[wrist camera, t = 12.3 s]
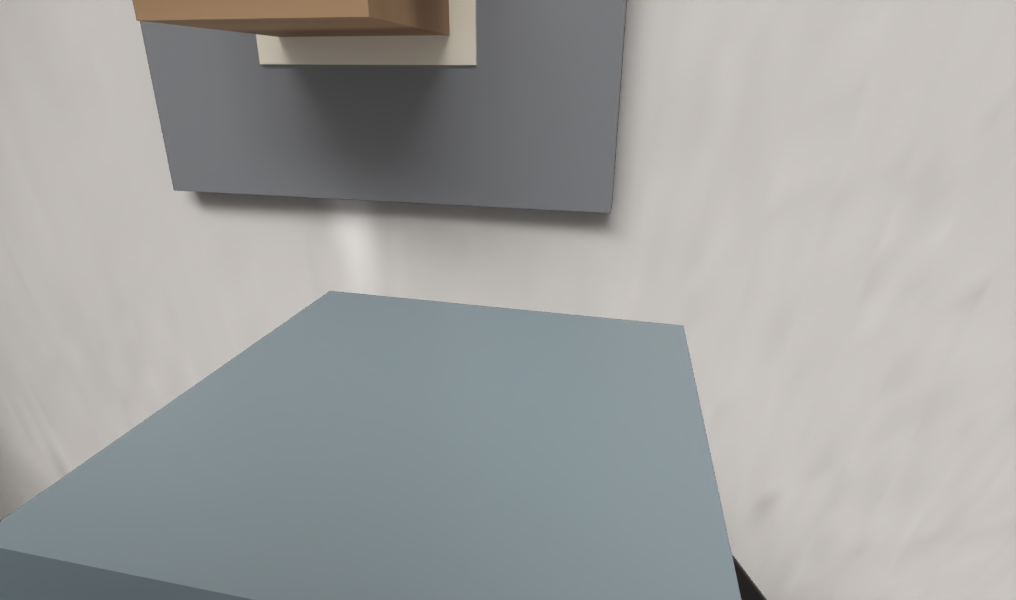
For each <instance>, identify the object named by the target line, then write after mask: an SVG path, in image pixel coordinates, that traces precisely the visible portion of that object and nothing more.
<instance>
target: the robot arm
mask: <svg viewBox="0 0 1016 600" xmlns="http://www.w3.org/2000/svg"><path fill="white" fill-rule="evenodd" d="M732 557H733V562H734V567H735V572H736V576H737V581H738V586H739V590H740V595H741V600H766V598H765V597H764V596H763V594H762V593H761V592H760V590H759V589H758V588H757V586H756V585H755V584H754V583H753V581H752V580H751V579H750V577H749V576H748V575H747V573H746V572H745V571H744V569H743V568H742V567H741V565H740V564H739V563H738V561H737V560H736V559H735V557H734V556H733V555H732Z"/></svg>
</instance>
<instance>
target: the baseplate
mask: <svg viewBox="0 0 1016 600" xmlns="http://www.w3.org/2000/svg"><path fill="white" fill-rule="evenodd" d="M626 6H627V0H449V26H450V35H421V36H316V37H275V36H267V35H258V34H249V33H241V32H232V31H223V30H215V29H206V28H197V27H189V26H180V25H172V24H163V23H154V22H146V21H140V24H141V29H142V34H143V39H144V44H145V49H146V54H147V59H148V64H149V69H150V74H151V79H152V84H153V89H154V94H155V99H156V104H157V109H158V114H159V119H160V124H161V129H162V134H163V138H164V143H165V148H166V153H167V158H168V163H169V168H170V173H171V178H172V183H173V188H174V190H177V191H196V192H215V193H235V194H254V195H273V196H293V197H312V198H331V199H350V200H370V201H389V202H408V203H428V204H447V205H466V206H486V207H505V208H524V209H543V210H563V211H582V212H601V213H611V209H612V198H613V184H614V171H615V157H616V143H617V130H618V116H619V102H620V89H621V75H622V61H623V48H624V34H625V20H626Z"/></svg>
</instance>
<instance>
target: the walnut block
mask: <svg viewBox="0 0 1016 600" xmlns="http://www.w3.org/2000/svg"><path fill="white" fill-rule="evenodd" d="M133 5H134V10H135V15H136V20H137V21H146V22H154V23H163V24H172V25H180V26H189V27H197V28H206V29H215V30H223V31H232V32H241V33H249V34H258V35H267V36H275V37H316V36H421V35H450V26H449V0H133Z"/></svg>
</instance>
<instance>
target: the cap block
mask: <svg viewBox="0 0 1016 600" xmlns="http://www.w3.org/2000/svg"><path fill="white" fill-rule="evenodd" d="M0 600H741V595H740V590H739V586H738V581H737V576H736V572H735V567H734V562H733V557H732V553H731V548H730V543H729V539H728V534H727V529H726V524H725V520H724V515H723V510H722V505H721V501H720V496H719V491H718V487H717V482H716V477H715V472H714V468H713V463H712V458H711V453H710V449H709V444H708V439H707V435H706V430H705V425H704V420H703V416H702V411H701V406H700V402H699V397H698V392H697V387H696V383H695V378H694V373H693V368H692V364H691V359H690V354H689V350H688V345H687V340H686V335H685V331H684V326H682V325H672V324H662V323H652V322H642V321H631V320H621V319H611V318H601V317H590V316H580V315H570V314H560V313H550V312H539V311H529V310H519V309H509V308H499V307H488V306H478V305H468V304H458V303H448V302H437V301H427V300H417V299H407V298H396V297H386V296H376V295H366V294H356V293H345V292H335V291H329V292H328V293H326V294H325V295H323V296H322V297H321V298H319V299H318V300H316V301H315V302H313V303H312V304H310V305H309V306H308V307H306V308H305V309H303V310H302V311H300V312H299V313H298V314H296V315H295V316H293V317H292V318H290V319H289V320H288V321H286V322H285V323H283V324H282V325H280V326H279V327H278V328H276V329H275V330H273V331H272V332H270V333H269V334H268V335H266V336H265V337H263V338H262V339H260V340H259V341H258V342H256V343H255V344H253V345H252V346H250V347H249V348H247V349H246V350H245V351H243V352H242V353H240V354H239V355H237V356H236V357H235V358H233V359H232V360H230V361H229V362H227V363H226V364H225V365H223V366H222V367H220V368H219V369H217V370H216V371H215V372H213V373H212V374H210V375H209V376H207V377H206V378H205V379H203V380H202V381H200V382H199V383H197V384H196V385H195V386H193V387H192V388H190V389H189V390H187V391H186V392H184V393H183V394H182V395H180V396H179V397H177V398H176V399H174V400H173V401H172V402H170V403H169V404H167V405H166V406H164V407H163V408H162V409H160V410H159V411H157V412H156V413H154V414H153V415H152V416H150V417H149V418H147V419H146V420H144V421H143V422H142V423H140V424H139V425H137V426H136V427H134V428H133V429H132V430H130V431H129V432H127V433H126V434H124V435H123V436H121V437H120V438H119V439H117V440H116V441H114V442H113V443H111V444H110V445H109V446H107V447H106V448H104V449H103V450H101V451H100V452H99V453H97V454H96V455H94V456H93V457H91V458H90V459H89V460H87V461H86V462H84V463H83V464H81V465H80V466H79V467H77V468H76V469H74V470H73V471H71V472H70V473H69V474H67V475H66V476H64V477H63V478H61V479H60V480H58V481H57V482H56V483H54V484H53V485H51V486H50V487H48V488H47V489H46V490H44V491H43V492H41V493H40V494H38V495H37V496H36V497H34V498H33V499H31V500H30V501H28V502H27V503H26V504H24V505H23V506H21V507H20V508H18V509H17V510H16V511H14V512H13V513H11V514H10V515H8V516H7V517H6V518H4V519H3V520H1V521H0Z"/></svg>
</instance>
